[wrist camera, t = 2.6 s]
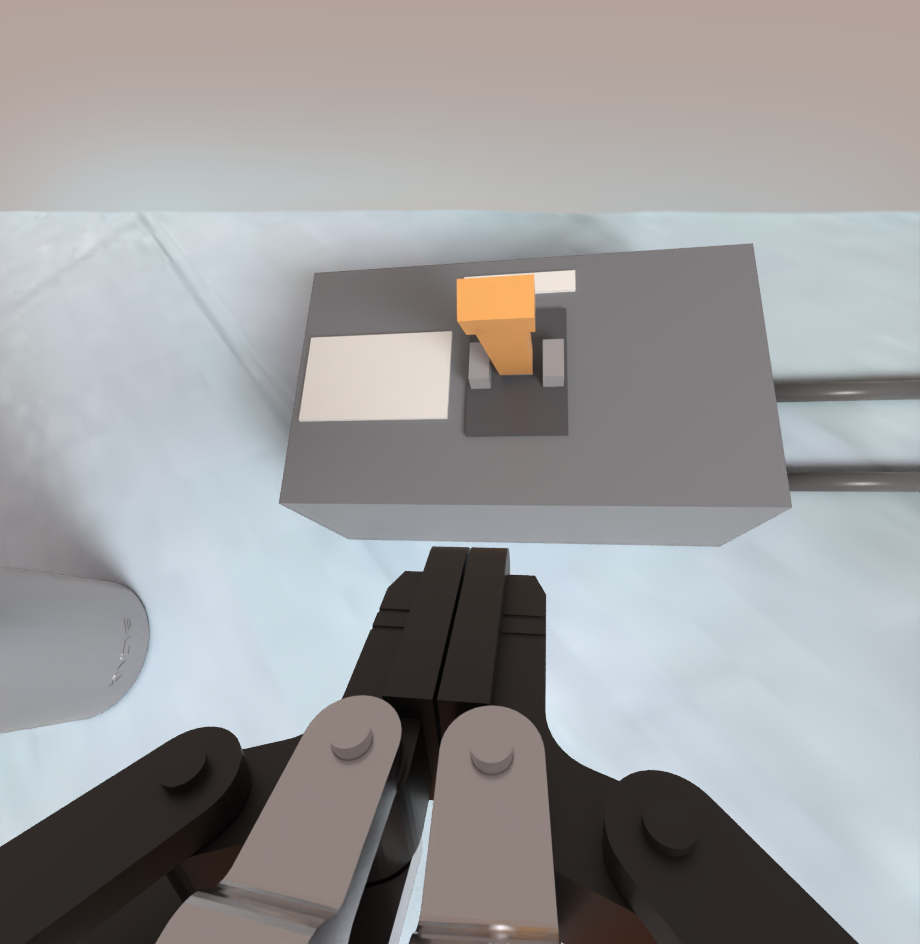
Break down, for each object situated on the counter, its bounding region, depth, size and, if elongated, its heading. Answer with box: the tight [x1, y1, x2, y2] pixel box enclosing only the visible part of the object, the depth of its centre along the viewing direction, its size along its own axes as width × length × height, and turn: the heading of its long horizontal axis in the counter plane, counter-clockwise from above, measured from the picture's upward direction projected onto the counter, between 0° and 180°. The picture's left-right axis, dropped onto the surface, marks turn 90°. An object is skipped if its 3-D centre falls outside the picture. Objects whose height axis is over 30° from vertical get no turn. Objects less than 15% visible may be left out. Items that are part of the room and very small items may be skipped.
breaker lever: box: [457, 274, 535, 376], centre depth 21 cm, size 2×1×12 cm, turn 87°
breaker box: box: [279, 244, 920, 546], centre depth 30 cm, size 39×14×11 cm, turn 87°
